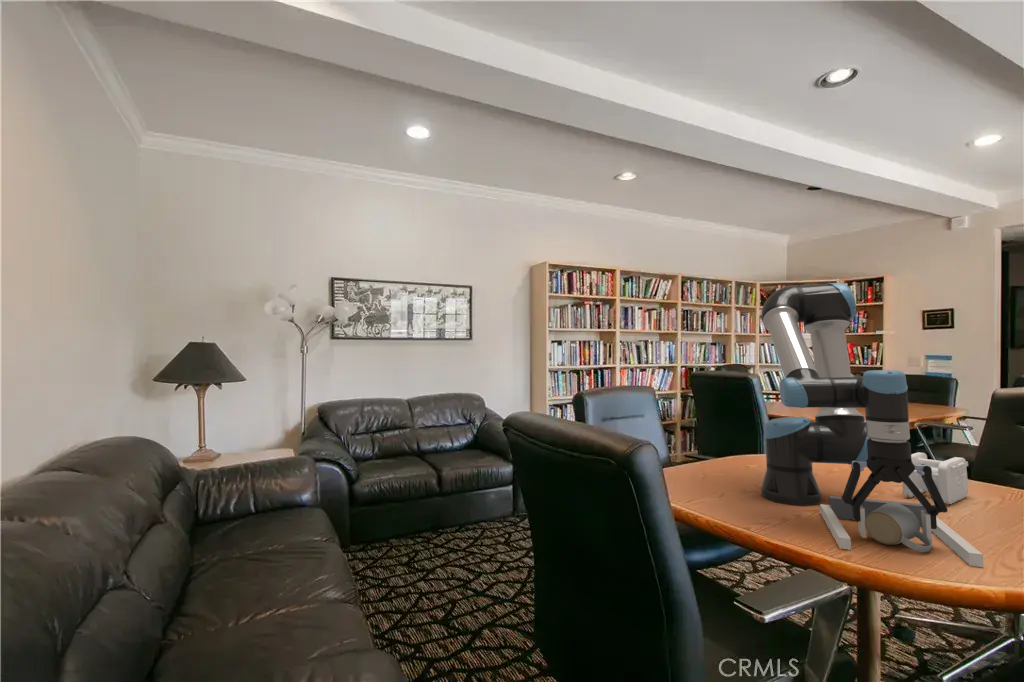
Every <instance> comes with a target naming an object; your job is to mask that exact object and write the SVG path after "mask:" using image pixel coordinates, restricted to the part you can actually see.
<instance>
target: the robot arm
mask: <svg viewBox="0 0 1024 682" xmlns="http://www.w3.org/2000/svg"><path fill="white" fill-rule="evenodd" d="M856 303H857V302H856V298H855V295H854V293H853V291H852V289H851V288H850V287H849V286H848V285H847V284H845V283H843V282H825V283H814V284H803V285H802V284H801V285H799V284H798V285H788V286H784V287H781V288H779V289H777V290H775V291H774V292H773V293H772V294H770V296H769V297H768V298H767V299H766V300H765V302H764V304H763V306H762V308H761V309H762V310H761V314H760V316H761V321H762V324H763V325H762V326H764V328H765V329H766V330H767V331H768V332H769V334H770V336H771V340H772V342H773V345H774V349H775V352H776V355H777V358H778V361H779V364H780V368H781V371H782V373H783V377H784V378H782V379H780V381H779V398H780V400H781V403H782V405H784V406H785V407H787V408H798V409H799V408H800V409H805V408H819V412H817V413H816V414H815V415H814V419H815V421H811V420H810V418H809V417H807V416H784V417H783V416H782V417H777V418H772V419H770V420H768V421H766V422H765V424H764V443H765V458H766V459H765V460H766V471H765V474H764V477H763V479H762V483H761V487H760V488H761V491H760V492H761V496H762V497H763V498H766V499H767V500H769V501H773V502H776V503H781V504H787V505H795V506H796V505H797V506H812V505H818V504H821V502H822V501H823V500H822V491H821V489H820V487H819V485H818V482H817V480H816V477H815V476H814V471H813V463H815V464H816V463H817V464H839V465H849V466H850V467H851V471H850V472H849V476H848V479H847V482H846V484H845V487H844V490H843V493H842V496H841V497H842V499H843V501H844V502H845V503H846V504H850V505H852V512H853V518H854V520H853V521H855V522H858V533H859V535H860V537H861V538H862V539H863V538H865V539H867V530H866V527H865V509H864V507H863V506H862V503H863V502H864V501H865V499H867V498H868V496H869V495H870V494H871V493H872V492H873V490H874V489H875V488H876V486H877V485H879V484H880V482H883V483H891V482H893V483H897V484H901V483H902V482H904V483H905V485H906V486H907V487H908V488H909V489H910V491H911V492H912V493H913V494H914V496H915V498H916V499H917V501H918V502H919V504H922V505H923V507H924V508H925V509H926V511H921V518H922V527H921V529H922V532H921V533H922V534H924V535H925V536H926V537H927V538H928V539H929V540H930V541H931V542H932V543H933V539H932V538H933V536H932V531H931V529H936V528H937V521H936V517H938V515H939V514H940V513H947V512H948V507H947V506H946V505H947V504H946V503H944V501H943V499H942V497H941V495H940V493H939V491H938V489H937V487H936V485H935V483H934V481H933V479H932V469H931V467H929V466H927V465H926V464H921V465H914V464H913V463H912V460H911V454H912V446H911V442H910V441H909V440H910V439H911V434H910V431H911V430H910V420H909V419H910V418H909V398H908V397H909V396H908V390H909V389H908V388H909V386H908V384H907V377H906V373H904V371H901V370H890V369H887V370H886V369H878V370H877V369H874V370H866V371H865V372H863V375H856V376H852V372H851V366H850V361H849V360H850V359H849V351H848V346H847V339H846V337H847V336H846V329H847V328H848V327H849V326H850V324H851V323H850V322H851V320H853V319H854V318H855V316H856V314H857V313H856V312H857V311H856V310H857V309H856V308H857V304H856ZM798 323H803V328H804V330H805V331H806V332H807V333H809V334H810V340H811V348H812V354H813V358H812V355H811V353H810V350H809V348H808V346H807V343H806V340H805V338H804V336H803V333H802V332H801V328H800V327H799V324H798ZM857 408H858V409H860V408H862V409H864V411H865V412H864V413H865V416H864V415H863V414H862V413H861V412H860V411H859V410H857ZM865 468H867V469H868V470H869V471H870V472H871V473H870V474H869V475H868V477H867V480H866V481H865V482H864V483H863V485H862V486H861V487H860V488H859V490H858V491H857V492H856V494H855V495H854V493H855V490H856V488H857V485H858V482H859V480H860V477H861V472H863V471H864V470H865ZM914 470H916V471H917V473H918V474H920V475H921V477H922V479H923V481H924V483H925V485H926V487H927V489H928V491H929V492H928V491H927V492H928V493H929V496H930V497H931V499H932V502H933V504H934V505H933V504H932V503H931V502H930V501H929V500H928V499H927V497H925V495H924V493H921V492H920V490H919V489H918V488H917V487H916V486H915V484H914V483H913V482H912V480H911V479H910V478H909V476H910V474H911V473H912V472H913V471H914ZM852 498H853V499H852Z"/></svg>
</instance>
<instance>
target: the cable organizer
mask: <svg viewBox="0 0 1024 682" xmlns="http://www.w3.org/2000/svg"><path fill="white" fill-rule="evenodd" d="M911 460H912V463H913V464H914V465H921V464H926V465H927V466H929V467H931V469H932V479H933V481H934V483H935V485H936V487H937V489H938V491H939V493H940V495H941V497H942V499H943V501H944V503H945V505H948V504H951V505H953V504H954V503H956V502H959V501H961V500H963V499H964V498H966V497H967V496H968V493H969V481H968V471H967V467H969V462H968V461H966V459H965V458H964V457H957V456H954V457H951V458H949V459H946V460H936V459H928V455H927V454H926V453H925V452H919V451H917V452H915V453H911ZM909 478H910V479H911V480H912V482H913V483H914V484H915V486H916V487H917V488H918V489H919V490H920V492H921V493H922V494H924V493H925V492H928V493H929V491H928V489H927V487H926V485H925V483H924V481H923V479H922V477H921V475H920V474H918V473H917V471H916V470H914V471H913V472H912V473H911V474H910V476H909ZM901 483H902V492H903V493H902V494H903V495H904V496H908V498H910V497H912V498H914V497H913V496H914V494H913V493H912V492H911V491H910V489H909V488H908V487H907V486H906V485H905V483H904V482H901ZM923 492H924V493H923ZM958 500H959V501H958ZM952 503H953V504H952Z"/></svg>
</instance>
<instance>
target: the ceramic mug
mask: <svg viewBox="0 0 1024 682" xmlns="http://www.w3.org/2000/svg"><path fill="white" fill-rule="evenodd" d="M865 527H866V533H868V534H869V536H870V537H872V539H873V540H875V541H876V542H878V543H881V544H883V545H889V546H895V545H900V544H903V545H904V546H906V547H907V548H910V549H911V550H914V551H916V552H919V553H928V552H930V551H931V548H932V547H933V541H932V542H931V541H930V540H929V539H928V538H927V537H926V536H925V535H924V534H923V533H922V532H921V531H920V530H921V527H920V523H919V520H918V519H917V517H916V515H915V514H914V513H913V512H912V511H911V510H909V509H908V508H906V507H905V506H903V505H900V504H897V503H887V504H884V505H882V506H881V507H879V508H877V509H875V510H873V511H872V512H870V513H869V514H868V515H867V517H866V518H865ZM914 538H917V539H918V540H920V541H921V542H922V543H923V544H924V545H920V544H918V543H916V542H914V541H912V540H911V539H914Z"/></svg>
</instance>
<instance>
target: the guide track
mask: <svg viewBox="0 0 1024 682" xmlns="http://www.w3.org/2000/svg"><path fill="white" fill-rule="evenodd" d="M853 498H854V497H852V499H853ZM828 502H829V504H822V503H819V504H820V505H819V507H820V515H821V517H822V519H823V521H824V520H825V521H824V522H826V523H825V524H826V526H827V528H828V530H829V529H830V530H829V531H831V532H830V534H831V533H832V534H831V535H832V537H833V539H834V538H835V539H834V540H836V541H835V543H836V542H837V543H836V544H838V545H837V547H838V548H839V547H840V548H843V549H851V550H852V543H851V542H852V540H851V537H850V536H849V534H848V532H847V531H846V529H845V528H844V526H843V524H842V523H841V521H840V520H848V519H852V520H851V521H855V520H854V518H853V512H852V505H850V504H846V503H845V502H844V501H843V499H842V496H834V495H829V496H828ZM887 503H897V504H900V505H903V506H905V507H906V508H908V509H909V510H911V511H912V512H913V513H914V514H915V515H916V517H917V519H918V520H919V523H920V528H922V518H921V511H926V509H925V508H924V507H923V505H922V504H921V503H918V502H917V503H916V502H905V501H904V502H903V501H894V500H893V501H892V500H883V499H881V500H879V499H871V498H870V499H867V498H866V499H865V501H864V502H863V503H862V506H863V507H864V509H865V518H866V517H867V515H868V514H869V513H870V512H872V511H873V510H875V509H877V508H879V507H881V506H882V505H884V504H887ZM838 518H841V519H838ZM936 521H937V528H936V529H931V533H933V534H934V535H935V536H936V535H937V536H936V537H938V538H939V539H940V540H941V541H942V542H943V543H944V544H945V545H948V546H947V547H949V548H950V550H952V551H953V552H954V553H955V554H956V553H957V554H956V555H957V556H959V558H960V559H962V560H963V561H964V562H965V563H967V565H969V566H970V567H975V568H976V567H977V568H984V566H985V565H984V553H982V552H981V551H979V550H978V549H977V548H976V547H975V546H973V545H972V544H971V543H970V542H968V541H967V540H966V539H965V538H963V537H962V536H961V535H960V534H958V533H957V532H956V531H954V530H953V529H952V528H951V527H949V525H947V523H945V522H943V521H942V520H941V519H940V518H939V517H938V516H936ZM840 548H839V549H840Z"/></svg>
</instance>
